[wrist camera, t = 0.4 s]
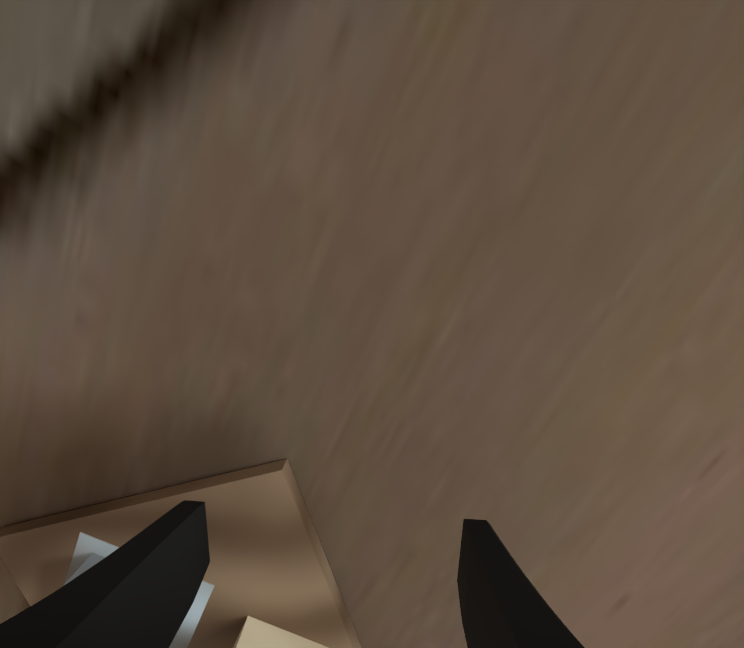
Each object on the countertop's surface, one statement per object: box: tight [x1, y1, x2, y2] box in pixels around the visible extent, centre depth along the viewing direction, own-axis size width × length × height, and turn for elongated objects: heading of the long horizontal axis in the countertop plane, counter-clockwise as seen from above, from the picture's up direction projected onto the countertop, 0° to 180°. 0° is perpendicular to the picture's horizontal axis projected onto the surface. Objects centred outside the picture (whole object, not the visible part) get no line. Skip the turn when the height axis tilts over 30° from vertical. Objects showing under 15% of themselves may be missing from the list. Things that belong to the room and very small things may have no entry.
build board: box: [0, 459, 361, 648], centre depth 24 cm, size 18×18×1 cm
